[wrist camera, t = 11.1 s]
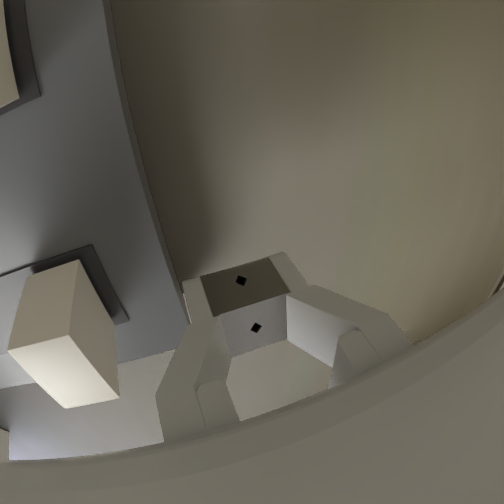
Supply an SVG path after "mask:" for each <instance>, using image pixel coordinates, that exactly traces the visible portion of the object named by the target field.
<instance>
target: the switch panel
mask: <svg viewBox="0 0 504 504" xmlns="http://www.w3.org/2000/svg"><path fill="white" fill-rule="evenodd" d="M3 5H4V15H5V24H6V31H7V38H8V45H9V51H10V56H11V62H12V67H13V72H14V77H15V81H16V86H17V90H18V94H19V99H17V100H15V101H13V102H11V103H9V104H7V105H5V106H3V107H1V108H0V389H1V388H7V387H13V386H19V385H24V384H29V383H35V382H36V381H35V380H34V379H33V378H32V377H31V376H30V375H29V374H28V373H27V372H26V371H25V370H24V369H23V368H22V367H21V366H20V365H19V364H18V362H17V361H16V360H15V359H14V358H13V357H12V356H11V355H10V354H9V352H8V351H7V348H8V344H9V339H10V335H11V331H12V327H13V323H14V319H15V315H16V311H17V308H18V304H19V301H20V297H21V294H22V291H23V288H24V284H25V281H26V278H27V276H30V275H33V274H36V273H39V272H42V271H45V270H48V269H51V268H54V267H57V266H60V265H63V264H66V263H69V262H72V261H75V260H78V259H79V260H80V262H81V264H82V266H83V268H84V270H85V272H86V274H87V276H88V278H89V280H90V282H91V284H92V285H93V287H94V289H95V291H96V293H97V295H98V297H99V298H100V300H101V302H102V304H103V306H104V307H105V309H106V311H107V313H108V314H109V316H110V318H111V319H112V321H113V323H114V325H115V338H116V357H117V364H120V363H124V362H128V361H132V360H136V359H139V358H143V357H147V356H151V355H154V354H158V353H162V352H165V351H169V350H172V349H176V348H177V346H178V344H179V342H180V340H181V338H182V335H183V333H184V331H185V329H186V327H187V325H189V324H190V320H189V317H188V313H187V309H186V305H185V301H184V297H183V294H182V291H181V288H180V285H179V282H178V279H177V276H176V273H175V270H174V267H173V264H172V261H171V258H170V255H169V252H168V249H167V245H166V242H165V239H164V236H163V233H162V229H161V226H160V223H159V219H158V216H157V213H156V209H155V206H154V202H153V199H152V195H151V192H150V188H149V185H148V181H147V177H146V173H145V170H144V166H143V162H142V158H141V154H140V150H139V146H138V142H137V138H136V134H135V130H134V126H133V122H132V117H131V113H130V108H129V104H128V99H127V95H126V90H125V85H124V80H123V75H122V70H121V65H120V60H119V54H118V49H117V43H116V37H115V31H114V25H113V18H112V12H111V5H110V0H3Z"/></svg>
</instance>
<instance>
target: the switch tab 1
mask: <svg viewBox="0 0 504 504" xmlns="http://www.w3.org/2000/svg"><path fill="white" fill-rule="evenodd" d="M17 99H19V94H18V90H17V86H16V81H15V77H14V72H13V67H12V62H11V56H10V51H9V45H8V38H7V31H6V24H5V15H4V5H3V0H0V108H1V107H3V106H5V105H7V104H9V103H11V102H13V101H15V100H17Z"/></svg>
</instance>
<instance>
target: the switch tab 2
mask: <svg viewBox="0 0 504 504" xmlns="http://www.w3.org/2000/svg"><path fill="white" fill-rule="evenodd" d="M7 351H8V352H9V354H10V355H11V356H12V357H13V358H14V359H15V360H16V361H17V362H18V364H19V365H20V366H21V367H22V368H23V369H24V370H25V371H26V372H27V373H28V374H29V375H30V376H31V377H32V378H33V379H34V380H35V381H36V382H37V383H38V384H39V385H40V386H41V387H42V388H43V389H44V390H45V391H46V392H47V393H48V394H49V395H50V396H51V397H53V398H54V399H55V400H56V401H57V402H58V403H59V404H60V405H61V406H62V407H64V408H65V409H66V408H72V407H77V406H83V405H88V404H93V403H98V402H103V401H108V400H113V399H117V398H120V394H119V383H118V371H117V357H116V338H115V325H114V323H113V321H112V319H111V318H110V316H109V314H108V313H107V311H106V309H105V307H104V306H103V304H102V302H101V300H100V298H99V297H98V295H97V293H96V291H95V289H94V287H93V285H92V284H91V282H90V280H89V278H88V276H87V274H86V272H85V270H84V268H83V266H82V264H81V262H80V260H79V259H78V260H75V261H72V262H69V263H66V264H63V265H60V266H57V267H54V268H51V269H48V270H45V271H42V272H39V273H36V274H33V275H30V276H27V278H26V281H25V284H24V288H23V291H22V294H21V297H20V301H19V304H18V308H17V311H16V315H15V319H14V323H13V327H12V331H11V335H10V339H9V344H8V348H7Z"/></svg>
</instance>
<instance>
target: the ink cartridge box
mask: <svg viewBox="0 0 504 504" xmlns="http://www.w3.org/2000/svg"><path fill="white" fill-rule="evenodd" d="M0 460H9V432H8V431H5V430H3V429H0Z"/></svg>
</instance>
